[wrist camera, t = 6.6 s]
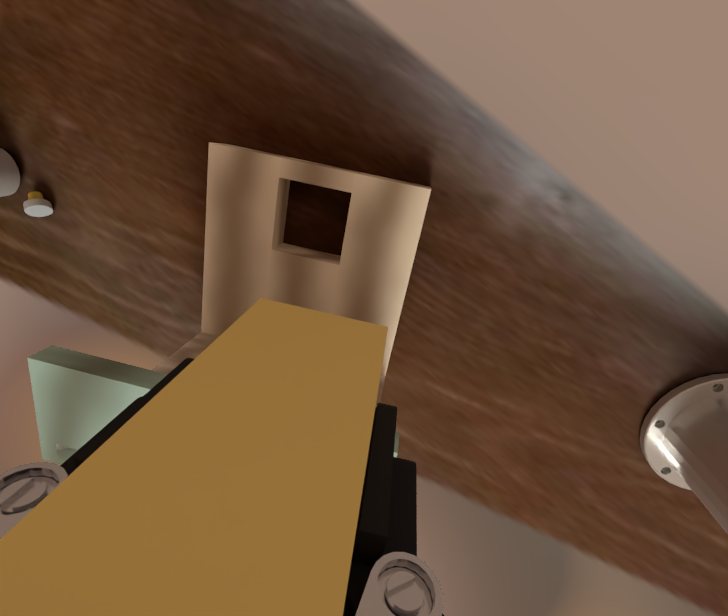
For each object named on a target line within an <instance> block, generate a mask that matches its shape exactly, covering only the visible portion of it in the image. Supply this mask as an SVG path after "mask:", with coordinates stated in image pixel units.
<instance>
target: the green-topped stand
mask: <svg viewBox="0 0 728 616" xmlns="http://www.w3.org/2000/svg"><path fill="white" fill-rule="evenodd" d="M290 180H294V181H298V182H303V183H308V184H312V185H317V186H322V187H326V188H331V189H335V190H340V191H345V192H349V193H352V195H351V200H350V206H349V212H348V218H347V223H346V229H345V235H344V241H343V246H342V252H341V256H339V255H334V254H330V253H326V252H321V251H317V250H312V249H308V248H304V247H299V246H295V245H290V244H286V243H283V240H284V231H285V222H286V214H287V205H288V196H289V188H290ZM430 192H431V187H428V186H424V185H419V184H414V183H410V182H405V181H400V180H395V179H391V178H386V177H381V176H376V175H372V174H367V173H362V172H358V171H353V170H348V169H343V168H339V167H334V166H329V165H324V164H320V163H315V162H310V161H306V160H301V159H296V158H291V157H287V156H282V155H277V154H272V153H268V152H263V151H258V150H254V149H249V148H244V147H239V146H235V145H230V144H223V143H211V142H209V149H208V175H207V200H206V226H205V251H204V277H203V302H202V328H201V333H199V334H198V335H197V336H195V337H194V338H193V339H191V340H190V341H189V342H188V343H186V344H185V345H184V346H182V347H181V348H180V349H178V350H177V351H176V352H174V353H173V354H172V355H171V356H169V357H168V358H167V359H165V360H164V361H163V362H161V363H160V364H159V365H158V366H156V367H155V368H154V369H152V370H147V369H143V368H139V367H136V366H132V365H127V364H124V363H120V362H116V361H112V360H108V359H104V358H100V357H96V356H92V355H88V354H84V353H81V352H76V351H72V350H69V349H64V348H61V347H57V346H53V345H52V346H50V347H48V348H46V349H44V350H42V351H40V352H38V353H36V354H34V355H32V356H30V357H28V365H29V371H30V378H31V385H32V391H33V398H34V405H35V411H36V418H37V424H38V431H39V438H40V445H41V451H42V458H43V460H47V461H51V462H54V463H58V464H61V465H62V464H63V463H64V462H65V461H66V460H67V459H68V458H70V457H71V456H72V455H73V454H74V453H75V452H76V451H78V450H79V449H80V448H81V447H82V446H83V445H84V444H86V443H87V442H88V441H89V440H90V439H91V438H92V437H94V436H95V435H96V434H97V433H98V432H99V431H100V430H102V429H103V428H104V427H105V426H106V425H107V424H108V423H109V422H111V421H112V420H113V419H114V418H115V417H116V416H117V415H119V414H120V413H121V412H122V411H123V410H124V409H125V408H127V407H128V406H129V405H130V404H131V403H132V402H133V401H135V400H136V399H138V398H139V397H142V396H144V395H145V394H146V393H147V392H148V391H150V390H151V389H152V388H153V387H154V386H155V385H156V384H157V383H159V382H160V381H161V380H162V379H163V378H164V377H165V376H167V375H168V374H169V373H170V372H171V371H172V370H173V369H174V368H176V367H177V366H178V365H179V364H180V363H181V362H182V361H183V360H185V359H186V358H193V359H195V358H197V357H198V356H199V355H200V354H201V353H202V352H203V351H204V350H205V349H206V348H207V347H208V346H209V345H211V344H212V343H213V342H214V341H215V340H216V339H217V338H218V337H219V336H220V335H221V334H222V333H224V332H225V331H226V330H227V329H228V328H229V327H230V326H231V325H232V324H233V323H234V322H235V321H236V320H238V319H239V318H240V317H241V316H242V315H243V314H244V313H245V312H246V311H247V310H248V309H249V308H251V307H252V306H253V305H254V304H255V303H256V302H257V301H258V300H259V299H260V298H264V299H268V300H272V301H277V302H281V303H285V304H290V305H294V306H299V307H303V308H307V309H312V310H316V311H320V312H325V313H329V314H333V315H338V316H342V317H346V318H351V319H355V320H360V321H364V322H368V323H373V324H377V325H381V326H386V327H388V331H387V337H386V344H385V350H384V356H383V363H382V369H381V376H380V382H379V388H378V395H377V401H376V407H377V404H378V403H380V401H381V396H382V390H383V385H384V379H385V375H386V371H387V367H388V363H389V358H390V354H391V350H392V346H393V342H394V338H395V334H396V330H397V326H398V322H399V318H400V314H401V310H402V306H403V302H404V298H405V294H406V290H407V286H408V282H409V277H410V273H411V269H412V265H413V261H414V257H415V253H416V249H417V245H418V241H419V237H420V233H421V229H422V225H423V221H424V217H425V213H426V209H427V205H428V200H429V196H430ZM398 443H399V433H396V432H395V444H394V457H397V453H398Z"/></svg>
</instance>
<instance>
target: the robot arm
mask: <svg viewBox="0 0 728 616" xmlns="http://www.w3.org/2000/svg"><path fill="white" fill-rule="evenodd" d="M193 360H194V359H193V358H186V359H185V360H183V361H182V362H181V363H180V364H179V365H178V366H177V367H176V368H174V369H173V370H172V371H171V372H170V373H169V374H168V375H167V376H165V377H164V378H163V379H162V380H161V381H160V382H159V383H157V384H156V385H155V386H154V387H153V388H152V389H151V390H150V391H148V392H147V393H146V394H145V395H144V396H142V397H139V398H138V399H136V400H135V401H133V402H132V403H131V404H130V405H129V406H128V407H127V408H125V409H124V410H123V411H122V412H121V413H120V414H119V415H117V416H116V417H115V418H114V419H113V420H112V421H111V422H109V423H108V424H107V425H106V426H105V427H104V428H103V429H102V430H100V431H99V432H98V433H97V434H96V435H95V436H94V437H92V438H91V439H90V440H89V441H88V442H87V443H86V444H84V445H83V446H82V447H81V448H80V449H79V450H78V451H76V452H75V453H74V454H73V455H72V456H71V457H70V458H68V459H67V460H66V461H65V462H64V463H63V464H62V465H61V466H59V465H57V464H53V463H48V462H38V463H30V464H25V465H20V466H17V467H15V468H12V469H9V470H7V471H5V472H3V473H1V474H0V539H1V538H2V537H3V536H4V535H5V534H6V533H8V532H9V531H10V530H11V529H12V528H13V527H14V526H15V525H16V524H17V523H18V522H19V521H21V520H22V519H23V518H24V517H25V516H26V515H27V514H28V513H29V512H30V511H31V510H32V509H33V508H35V507H36V506H37V505H38V504H39V503H40V502H41V501H42V500H43V499H44V498H45V497H46V496H48V495H49V494H50V493H51V492H52V491H53V490H54V489H55V488H56V487H57V486H58V485H59V484H60V483H62V482H63V481H64V480H65V479H66V478H67V477H68V476H69V475H70V474H71V473H72V472H73V471H75V470H76V469H77V468H78V467H79V466H80V465H81V464H82V463H83V462H84V461H85V460H86V459H87V458H89V457H90V456H91V455H92V454H93V453H94V452H95V451H96V450H97V449H98V448H99V447H100V446H101V445H103V444H104V443H105V442H106V441H107V440H108V439H109V438H110V437H111V436H112V435H113V434H114V433H116V432H117V431H118V430H119V429H120V428H121V427H122V426H123V425H124V424H125V423H126V422H127V421H128V420H130V419H131V418H132V417H133V416H134V415H135V414H136V413H137V412H138V411H139V410H140V409H141V408H143V407H144V406H145V405H146V404H147V403H148V402H149V401H150V400H151V399H152V398H153V397H154V396H155V395H157V394H158V393H159V392H160V391H161V390H162V389H163V388H164V387H165V386H166V385H167V384H168V383H170V382H171V381H172V380H173V379H174V378H175V377H176V376H177V375H178V374H179V373H180V372H181V371H182V370H184V369H185V368H186V367H187V366H188V365H189V364H190V363H191V362H192V361H193ZM396 416H397V407H395V406H390V405H386V404H382V403H378V404H377V407H375V414H374V420H373V426H372V433H371V439H370V446H369V452H368V458H367V465H366V471H365V477H364V484H363V490H362V496H361V503H360V509H359V515H358V522H357V528H356V535H355V541H354V547H353V554H352V560H351V566H350V573H349V579H348V585H347V592H346V598H345V605H344V611H343V616H444V615H443V613H442V611H443V592H442V588H441V585H440V582H439V580H438V578H437V576H436V575H435V573H434V571H433V570H432V569H431V568H430V567H429V566H428V565H427V564H426V563H425V562H424V561H423V560H421V559H420V558H418V557H417V553H416V552H417V547H416V546H417V545H416V541H417V540H416V539H417V538H416V537H417V535H416V534H417V533H416V463H415V462H413V461H409V460H405V459H400V458H396V457H394V444H395V430H396ZM640 445H641V450H642V452H643V455H644V457H645V459H646V460H647V462H648V463H649V464H650V466H651V467H652V469H653V470H654V471H655V472H656V473H657V474H658V475H659V476H660V477H662V478H663V479H665V480H666V481H668V482H669V483H671V484H674V485H676V486H678V487H681V488H685V489H689V490H692V491H693V492H694V493H695V495H696V496H697V497H698V498H699V500H700V501H701V502H702V503H703V505H704V506H705V507H706V508H707V509H708V511H709V512H710V513H711V514H712V516H713V517H714V518H715V519H716V521H717V522H718V523H719V524H720V526H721V527H722V528H723V529H724V530H725V532H726V533H727V534H728V373H723V374H713V375H709V376H704V377H700V378H697V379H694V380H691V381H689V382H686V383H684V384H682V385H680V386H678V387H676V388H675V389H673V390H671V391H670V392H668V393H667V394H666V395H664V396H663V397H662V398H661V399H659V401H658V402H657V403H656V404H655V405H654V406H653V407H652V408H651V409H650V411H649V413H648V414H647V416H646V417H645V419H644V422H643V425H642V427H641V432H640Z"/></svg>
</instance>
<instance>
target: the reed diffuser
mask: <svg viewBox="0 0 728 616" xmlns="http://www.w3.org/2000/svg"><path fill="white" fill-rule="evenodd" d="M19 184H20V173H19V170H18V167H17V165H16V163H15V161H14V160H13V158H12V157H11V156H10V155H9V154H8V153H7V152H6V151H5V150H3V149H2V148H0V197H1V196H8V195H12V194H13V193H15V192H16V191H17V189H18V187H19ZM28 199H29V200H27V201H25V202H24V203H23V206H24V210H25V213H26V214H28V215H30V216H35V217H43V216H48V215H50V214H52V213H53V209H52V205H51V203H50V202H49V201H47V200H44V198H43V195H42V194H41V193H40V192H36V191H33V192H30V193H28Z"/></svg>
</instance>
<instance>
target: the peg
mask: <svg viewBox="0 0 728 616" xmlns="http://www.w3.org/2000/svg"><path fill="white" fill-rule="evenodd" d="M387 331H388V327H386V326H381V325H377V324H373V323H368V322H364V321H360V320H355V319H351V318H346V317H342V316H338V315H333V314H329V313H325V312H320V311H316V310H312V309H307V308H303V307H299V306H294V305H290V304H285V303H281V302H277V301H272V300H268V299H264V298H260V299H259V300H258V301H257V302H256V303H255V304H254V305H253V306H252V307H251V308H249V309H248V310H247V311H246V312H245V313H244V314H243V315H242V316H241V317H240V318H239V319H238V320H236V321H235V322H234V323H233V324H232V325H231V326H230V327H229V328H228V329H227V330H226V331H225V332H224V333H222V334H221V335H220V336H219V337H218V338H217V339H216V340H215V341H214V342H213V343H212V344H211V345H209V346H208V347H207V348H206V349H205V350H204V351H203V352H202V353H201V354H200V355H199V356H198V357H197V358H195V359H194V360H193V361H192V362H191V363H190V364H189V365H188V366H187V367H186V368H185V369H184V370H182V371H181V372H180V373H179V374H178V375H177V376H176V377H175V378H174V379H173V380H172V381H171V382H170V383H168V384H167V385H166V386H165V387H164V388H163V389H162V390H161V391H160V392H159V393H158V394H157V395H155V396H154V397H153V398H152V399H151V400H150V401H149V402H148V403H147V404H146V405H145V406H144V407H143V408H141V409H140V410H139V411H138V412H137V413H136V414H135V415H134V416H133V417H132V418H131V419H130V420H128V421H127V422H126V423H125V424H124V425H123V426H122V427H121V428H120V429H119V430H118V431H117V432H116V433H114V434H113V435H112V436H111V437H110V438H109V439H108V440H107V441H106V442H105V443H104V444H103V445H101V446H100V447H99V448H98V449H97V450H96V451H95V452H94V453H93V454H92V455H91V456H90V457H89V458H87V459H86V460H85V461H84V462H83V463H82V464H81V465H80V466H79V467H78V468H77V469H76V470H75V471H73V472H72V473H71V474H70V475H69V476H68V477H67V478H66V479H65V480H64V481H63V482H62V483H60V484H59V485H58V486H57V487H56V488H55V489H54V490H53V491H52V492H51V493H50V494H49V495H48V496H46V497H45V498H44V499H43V500H42V501H41V502H40V503H39V504H38V505H37V506H36V507H35V508H33V509H32V510H31V511H30V512H29V513H28V514H27V515H26V516H25V517H24V518H23V519H22V520H21V521H19V522H18V523H17V524H16V525H15V526H14V527H13V528H12V529H11V530H10V531H9V532H8V533H6V534H5V535H4V536H3V537H2V538H1V539H0V616H343V611H344V605H345V598H346V592H347V585H348V579H349V573H350V566H351V560H352V554H353V547H354V541H355V535H356V528H357V522H358V515H359V509H360V503H361V496H362V490H363V484H364V477H365V471H366V465H367V458H368V452H369V446H370V439H371V433H372V426H373V420H374V414H375V407H376V401H377V395H378V388H379V382H380V376H381V369H382V363H383V356H384V350H385V344H386V337H387Z"/></svg>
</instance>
